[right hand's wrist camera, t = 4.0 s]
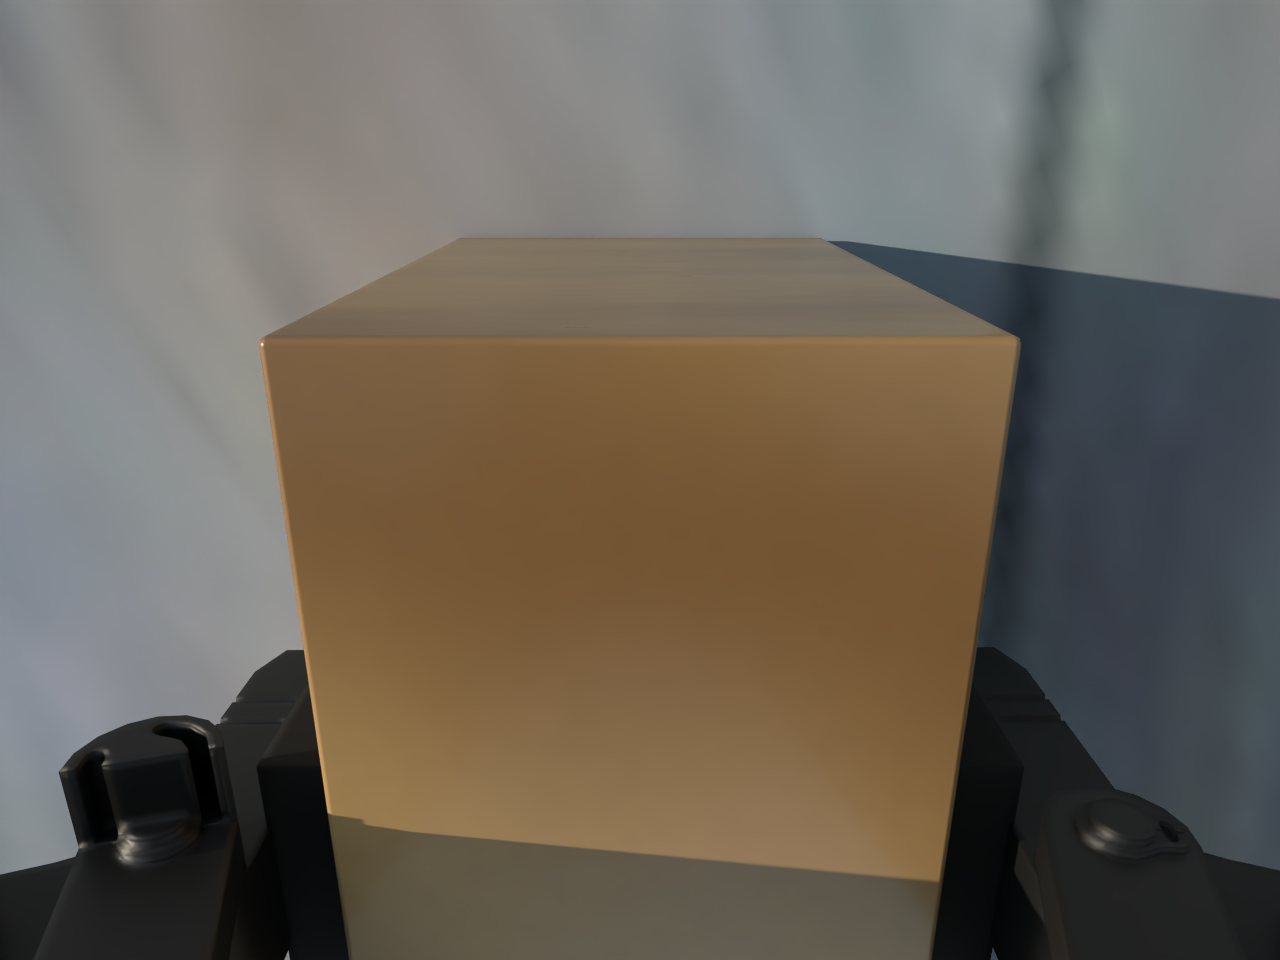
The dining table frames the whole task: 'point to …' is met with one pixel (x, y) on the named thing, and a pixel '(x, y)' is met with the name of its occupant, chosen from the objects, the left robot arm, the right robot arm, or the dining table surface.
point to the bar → (640, 594)
